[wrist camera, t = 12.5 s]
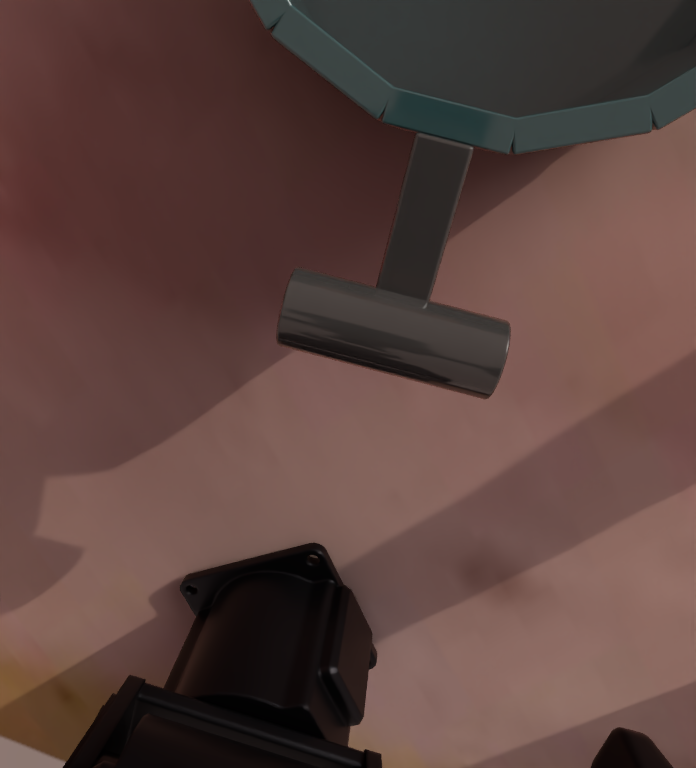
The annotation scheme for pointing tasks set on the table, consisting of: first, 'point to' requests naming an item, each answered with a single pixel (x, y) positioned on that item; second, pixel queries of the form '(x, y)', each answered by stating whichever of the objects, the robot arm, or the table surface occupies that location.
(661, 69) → the saucepan
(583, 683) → the table surface
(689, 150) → the table surface
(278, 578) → the robot arm
